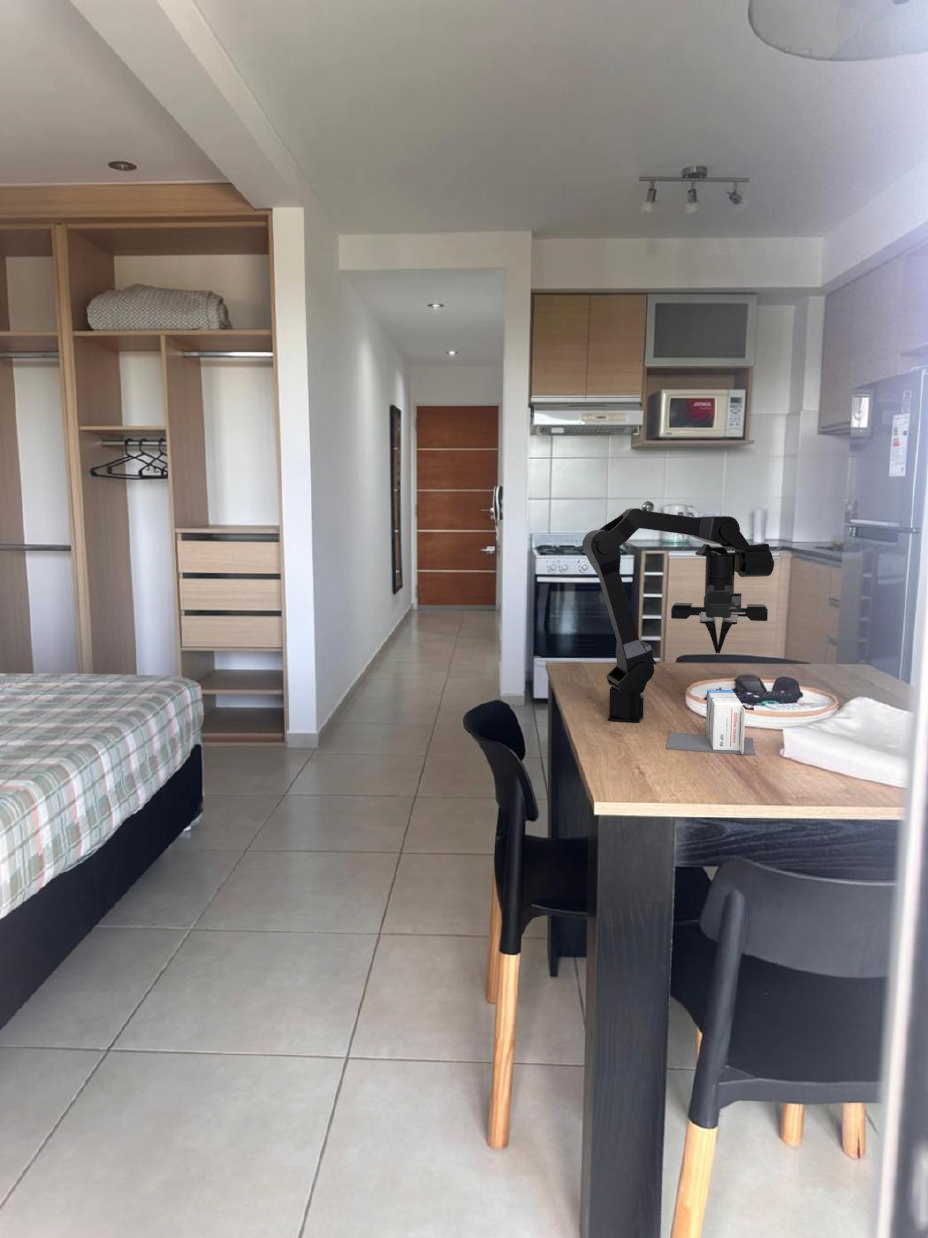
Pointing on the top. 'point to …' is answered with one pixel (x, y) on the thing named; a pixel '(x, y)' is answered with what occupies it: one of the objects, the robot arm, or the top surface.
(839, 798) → the top surface
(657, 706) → the top surface
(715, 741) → the ink box
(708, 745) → the mat
